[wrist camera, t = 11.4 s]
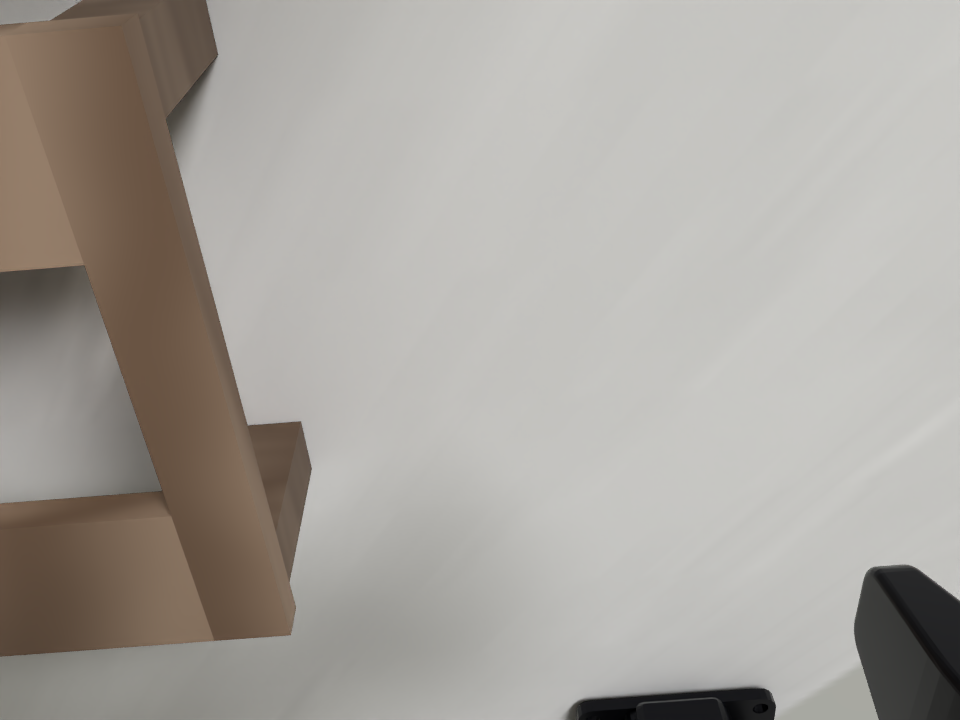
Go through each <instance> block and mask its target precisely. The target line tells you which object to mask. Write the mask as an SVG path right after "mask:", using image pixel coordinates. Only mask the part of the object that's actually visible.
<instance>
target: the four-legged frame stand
mask: <svg viewBox="0 0 960 720" xmlns="http://www.w3.org/2000/svg"><path fill="white" fill-rule="evenodd" d="M217 55H218V52H217V48H216V44H215V39H214V35H213V30H212V26H211V21H210V17H209V13H208V8H207V4H206V0H82V1H81V2H79V3H77V4H76V5H74V6H73V7H71V8H70V9H68V10H66V11H65V12H63V13H62V14H60V15H58V16H57V17H55V18H54V19H52V20H50V21H40V22H29V23H17V24H5V25H0V272H6V271H19V270H31V269H43V268H56V267H68V266H81V265H84V266H85V269H86V272H87V275H88V278H89V280H90V283H91V286H92V289H93V292H94V295H95V298H96V301H97V304H98V306H99V309H100V312H101V315H102V318H103V321H104V324H105V327H106V329H107V332H108V335H109V338H110V341H111V344H112V347H113V350H114V353H115V355H116V358H117V361H118V364H119V367H120V370H121V373H122V376H123V378H124V381H125V384H126V387H127V390H128V393H129V396H130V399H131V402H132V404H133V407H134V410H135V413H136V416H137V419H138V422H139V425H140V428H141V430H142V433H143V436H144V439H145V442H146V445H147V448H148V451H149V453H150V456H151V459H152V462H153V465H154V468H155V471H156V474H157V477H158V479H159V482H160V485H161V488H162V491H158V492H145V493H132V494H119V495H106V496H93V497H80V498H67V499H54V500H40V501H27V502H14V503H1V504H0V657H1V656H14V655H28V654H41V653H55V652H68V651H82V650H96V649H109V648H123V647H136V646H150V645H164V644H177V643H191V642H204V641H218V640H231V639H245V638H259V637H272V636H286V635H291V631H292V626H293V620H294V615H295V609H296V606H295V602H294V598H293V594H292V591H291V587H290V583H289V582H290V577H291V572H292V566H293V561H294V556H295V551H296V546H297V541H298V536H299V531H300V526H301V521H302V516H303V510H304V505H305V500H306V495H307V490H308V485H309V480H310V475H311V470H312V468H311V464H310V459H309V455H308V450H307V446H306V442H305V437H304V433H303V428H302V424H301V422H289V423H276V424H263V425H250V426H247V422H246V418H245V414H244V411H243V407H242V403H241V399H240V396H239V392H238V388H237V384H236V381H235V377H234V373H233V369H232V366H231V362H230V358H229V354H228V351H227V347H226V343H225V339H224V336H223V332H222V328H221V324H220V321H219V317H218V313H217V309H216V306H215V302H214V298H213V294H212V291H211V287H210V283H209V279H208V276H207V272H206V268H205V264H204V261H203V257H202V253H201V249H200V246H199V242H198V238H197V234H196V231H195V227H194V223H193V219H192V216H191V212H190V208H189V204H188V201H187V197H186V193H185V189H184V186H183V182H182V178H181V174H180V171H179V167H178V163H177V159H176V156H175V152H174V148H173V144H172V141H171V137H170V133H169V129H168V126H167V122H166V118H167V117H168V115H169V114H170V113H171V112H172V110H173V109H174V108H175V107H176V105H177V104H178V103H179V102H180V101H181V99H182V98H183V97H184V96H185V94H186V93H187V92H188V91H189V90H190V88H191V87H192V86H193V85H194V83H195V82H196V81H197V80H198V78H199V77H200V76H201V75H202V74H203V72H204V71H205V70H206V69H207V67H208V66H209V65H210V64H211V62H212V61H213V60H214V59H215V58H216V56H217Z"/></svg>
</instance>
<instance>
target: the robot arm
mask: <svg viewBox="0 0 960 720" xmlns="http://www.w3.org/2000/svg"><path fill="white" fill-rule="evenodd" d="M854 635H855V642H856V646H857V650H858V653H859V656H860V660H861V663H862V666H863V669H864V673H865V676H866V679H867V683H868V686H869V689H870V692H871V696H872V699H873V702H874V705H875V709H876V712H877V715H878V718H879V720H960V601H959V600H958V599H957V598H955V597H954V596H953V595H952V594H950V593H949V592H948V591H946V590H945V589H944V588H942V587H941V586H940V585H938V584H937V583H936V582H934V581H933V580H932V579H931V578H929V577H928V576H927V575H925V574H924V573H923V572H921V571H920V570H918V569H917V568H915V567H913V566H910V565H892V566H878V567H873V568H870V569H869V570H868V571H867V573H866V574H865V577H864V581H863V585H862V590H861V594H860V599H859V603H858V608H857V613H856V617H855V623H854ZM775 710H776V705H775V702H774V699H773V696H772V693H771V692H770V691H769V690H766V689H745V690H731V691H717V692H703V693H689V694H676V695H662V696H648V697H634V698H620V699H606V700H592V701H587V702H584V703H582V704H580V705H579V706H578V707H577V710H576V720H774V716H775Z"/></svg>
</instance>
